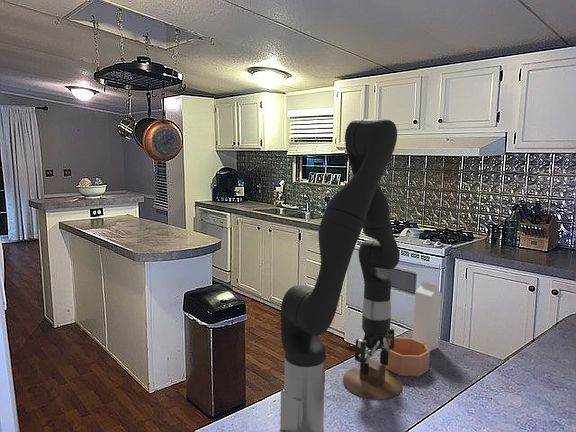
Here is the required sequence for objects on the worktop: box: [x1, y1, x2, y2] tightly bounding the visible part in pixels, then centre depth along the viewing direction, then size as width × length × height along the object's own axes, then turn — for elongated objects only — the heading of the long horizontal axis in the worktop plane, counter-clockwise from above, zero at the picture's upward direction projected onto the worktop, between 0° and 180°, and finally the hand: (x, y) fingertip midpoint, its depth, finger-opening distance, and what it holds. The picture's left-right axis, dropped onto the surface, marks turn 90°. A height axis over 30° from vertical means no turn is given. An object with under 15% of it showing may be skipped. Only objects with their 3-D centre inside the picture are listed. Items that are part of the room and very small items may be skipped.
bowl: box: [386, 336, 431, 377], centre depth 129 cm, size 13×13×6 cm
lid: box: [342, 358, 403, 401], centre depth 118 cm, size 16×16×6 cm
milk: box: [412, 280, 443, 352], centre depth 140 cm, size 6×6×22 cm
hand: (374, 369), depth 118 cm, fingers open, 8 cm apart
